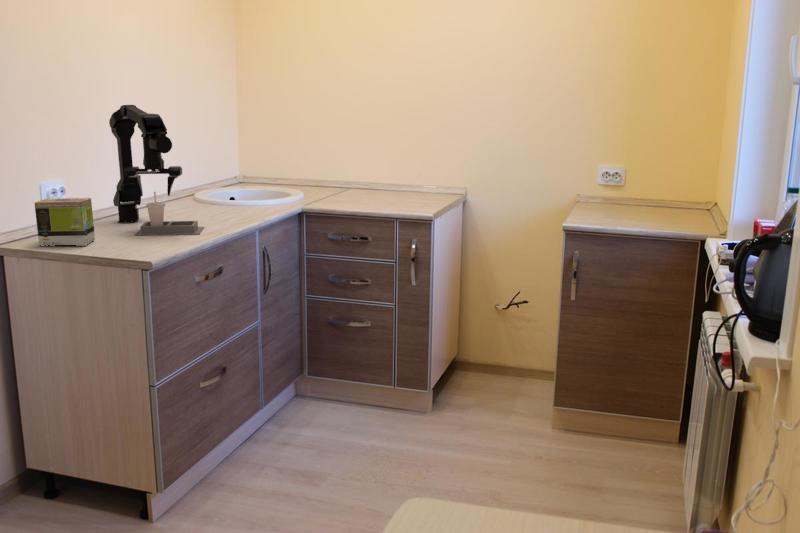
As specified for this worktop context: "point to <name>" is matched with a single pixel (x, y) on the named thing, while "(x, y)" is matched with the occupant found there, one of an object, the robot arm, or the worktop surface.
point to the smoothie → (156, 212)
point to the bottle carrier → (170, 228)
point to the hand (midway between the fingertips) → (155, 195)
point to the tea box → (65, 221)
